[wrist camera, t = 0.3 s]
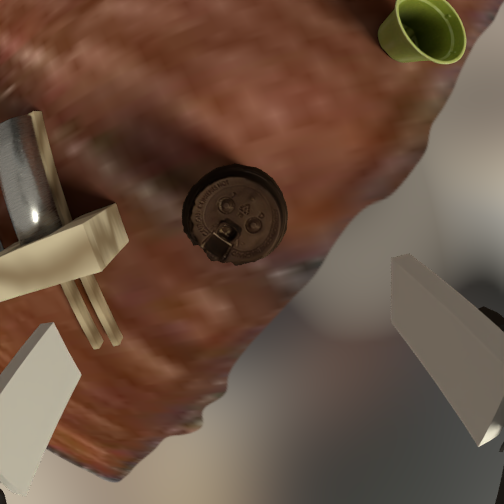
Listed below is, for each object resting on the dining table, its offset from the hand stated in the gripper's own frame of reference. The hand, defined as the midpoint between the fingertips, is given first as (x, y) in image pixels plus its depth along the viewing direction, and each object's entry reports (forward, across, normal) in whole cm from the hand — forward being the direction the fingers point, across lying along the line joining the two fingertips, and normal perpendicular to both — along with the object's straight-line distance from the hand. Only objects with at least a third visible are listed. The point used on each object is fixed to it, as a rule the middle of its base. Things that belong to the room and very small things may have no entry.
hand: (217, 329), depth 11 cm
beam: (+27, -22, -1) cm, 35 cm away
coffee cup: (+28, +1, 0) cm, 28 cm away
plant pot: (+28, +25, +16) cm, 41 cm away
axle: (+23, -23, +6) cm, 33 cm away
